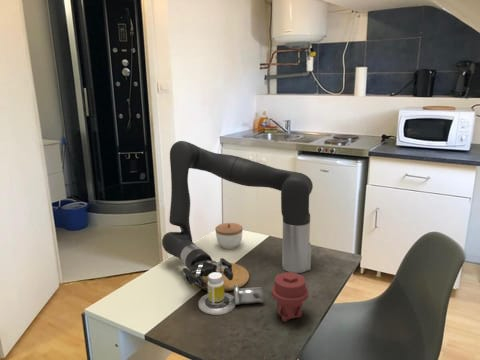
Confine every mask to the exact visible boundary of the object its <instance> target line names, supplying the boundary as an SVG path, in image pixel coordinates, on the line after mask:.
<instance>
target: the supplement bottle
mask: <svg viewBox="0 0 480 360" xmlns="http://www.w3.org/2000/svg"><path fill="white" fill-rule="evenodd" d="M207 277H208V281H207V282H206V286H207V294H208V301H209V303H210V304H212V305H220V304H222V303H223V302H224V292H225V283H224V280H223V275H222V274H221V273H218V271H217V272H213V273H211V274H209V275H208V276H207Z"/></svg>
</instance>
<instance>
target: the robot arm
mask: <svg viewBox="0 0 480 360" xmlns="http://www.w3.org/2000/svg"><path fill="white" fill-rule="evenodd" d="M169 164H170V165H169V166H170V183H171V186H170V187H171V191H170V192H171V193H170V194H171V196H170V209H169V218H168V219H169V224H170V225H172V226H177V227H179V228H180V231H170V232H166V233H165V234H164V235H163V236H162V238H161V244H162V248H163V250H164V252H166V253H168V254H169V255H171V256H173V257H176V258H178V259H179V260H180V261H181V262H182V264H183V265H184V266H185V267H184V268H182V269H183V270H182V272H183V275H182V276H183V279H185V281H186V282H187V284H188V285H193V284H194V283H195V284H197V286H199V288H202V289H205V288H207V281H206V280H205V279H204V278H205V277H208V276H209V274H211V273H213V272H218V273H221V274H222V276H225V277H226V278H227V280H229V281H233V280H234V279H233V278H234V273H233V264H232V263H231V262H229V261H228V260H226V259H225V258H223V257H222V258H220V259H219V260H218V261H215V260H213V259H212V257H211V255H209V254H208V252H206V251H205V250H204V249H203V248H201V246H199V245H197V244H195V242H193V237H192V232H191V224H190V215H191V196H190V189H189V171H190V169H193V170H199V171H204V172H208V173H210V174H212V175H215V176H216V177H219V178H220V179H223V180H225V181H228V182H231V183H232V184H236V185H241V186H243V187H244V186H245V187H253V188H269V189H274V190H275V191H276V190H277V191H279V192H280V203H281V204H280V208H281V209H280V210H281V216H282V249H281V250H282V253H281V255H282V261H281V263H282V265H281V267H282V269H283V270H284V271H286V272H292V273H297V274H300V273H304V272H307V271H311V267H312V266H311V263H312V262H311V260H312V257H311V256H312V244H311V241H310V239H311V238H310V236H311V235H310V234H311V231H310V230H311V213H310V194H311V193H312V191H313V188H314V187H313V181H312V179H311V178H310V177H309V176H308V175H307V174H304V173H303V172H298V171H293V170H292V171H291V170H286V169H280V168H276V167H273V166H270V165H267V164H264V163H261V162H257V161H254V160H252V159H247V158H245V157H240V156H236V155H231V154H227V153H226V154H224V153H219V152H218V153H216V152H214V151H211V150H207V149H205V148H202V147H200V146H198V145H196V144H193V143H191V142H188V141H185V140H178V141H176V142H174V143H173V144H172V145H171V147H170V151H169Z"/></svg>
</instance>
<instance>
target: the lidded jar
mask: <svg viewBox="0 0 480 360" xmlns="http://www.w3.org/2000/svg"><path fill="white" fill-rule="evenodd" d="M214 229H215V236H216V241H217V242H218V243H217V244H219V245H220V246H221V247H222V248H223V249H227V250H232V249H236V248H237V247H238V246H239V245H240V244H241V241H242V239H243V226H242V225H241V224H239V223H237V222H236V223H235V222H225V223H220V224H218V225H217V226H216V227H215V228H214Z"/></svg>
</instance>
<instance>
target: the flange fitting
mask: <svg viewBox="0 0 480 360" xmlns="http://www.w3.org/2000/svg"><path fill="white" fill-rule="evenodd" d="M258 303H259V304H260V303H261V304H262V303H264V290H263V287H262V286H258V287H257V286H256V287H255V286H254V287H244V288H242V287H241V288H239V284H233V295H232V294H231V293H228V292H225V291H224V302H223V303H222V304H220V305H212V304H210V303H209V301H208V293H206V294H205V295H203V296H201V298H200V299H199V300H198V309H199V311H201V312H202V313H203V314H206V315H209V314H210V315H211V316H223V315H225V314H229V313H230V312H232V311H233V310H234V309H235V308H236V305H238V306H239V305H247V304H258Z"/></svg>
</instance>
